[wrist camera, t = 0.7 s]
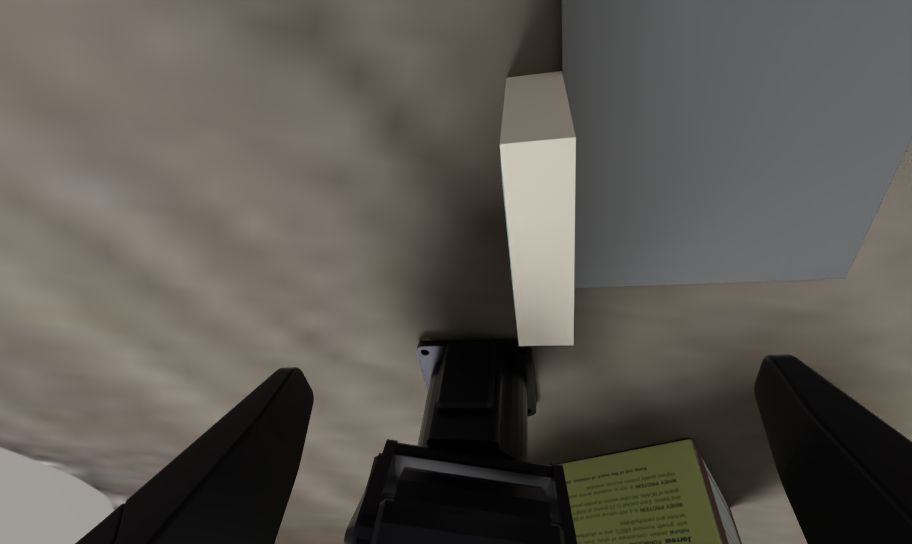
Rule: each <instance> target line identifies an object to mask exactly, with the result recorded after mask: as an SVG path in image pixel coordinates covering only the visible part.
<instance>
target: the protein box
mask: <svg viewBox="0 0 912 544" xmlns="http://www.w3.org/2000/svg"><path fill="white" fill-rule="evenodd" d="M559 465H563V469H564V474H565V480H566V485H567V490H568V496H569V501H570V507H571V512H572V517H573V523H574V528H575V533H576V539H577V544H742V543H741V540H740V537H739V534H738V531H737V528H736V525H735V522H734V519H733V516H732V513H731V510H730V507H729V505H728V504H727V502H726V500H725V498H724V497H723V495H722V493H721V491H720V489H719V487H718V485H717V483H716V482H715V480H714V478H713V476H712V474H711V473H710V471H709V469H708V467H707V465H706V463H705V461H704V459H703V458H702V456H701V454H700V452H699V451H698V449H697V447H696V445H695V443H694V442H693V440H691V439H689V440H682V441H677V442H672V443H667V444H662V445H657V446H651V447H646V448H641V449H636V450H631V451H626V452H621V453H616V454H611V455H605V456H600V457H595V458H589V459H584V460H579V461H574V462H568V463H563V464H559Z"/></svg>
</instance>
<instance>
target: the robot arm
mask: <svg viewBox="0 0 912 544" xmlns="http://www.w3.org/2000/svg"><path fill="white" fill-rule="evenodd" d="M521 348H524V349H521ZM424 349H425V350H424ZM417 356H418V359H419V363H420V366H421V369H422V373H423V376H424V379H425V383H426V386H427V390H428V395H427V400H426V405H425V410H424V415H423V421H422V426H421V431H420V436H419V441H418V446H416V445H410V444H403V443H398V441H396V440H389V439H387V441H386V444H385V447H384V450H383V453H382V454H381V453H379V456H376V457H375V458H374V462H373V465H372V469H371V473H370V477H369V480H368V483H367V486H366V489H365V492H364V494H363V496H362V498H361V500H360V502H359V505H358V507H357V509H356V511H355V513H354V515H353V517H352V519H351V521H350V523H349V525H348V527H347V530H346V533H345V538H344V544H577V539H576V533H575V528H574V523H573V517H572V512H571V507H570V501H569V496H568V490H567V485H566V480H565V474H564V469H563V465H559V464H552V463H551V465H546V464H539V463H532V462H527V416H532V415H534V414H535V413H536V397H535V383H534V368H533V354H532V346H519V343H518V340H471V341H423V342H420V343H419V344H418V346H417ZM754 393H755V398H756V402H757V405H758V408H759V412H760V415H761V418H762V422H763V425H764V428H765V432H766V435H767V438H768V441H769V445H770V448H771V451H772V455H773V458H774V461H775V465H776V468H777V471H778V474H779V477H780V480H781V482H782V485H783V487H784V490H785V492H786V495H787V497H788V499H789V502H790V504H791V506H792V508H793V511H794V513H795V515H796V518H797V520H798V522H799V525H800V527H801V529H802V532H803V534H804V536H805V538H806V541H807V543H808V544H912V442H911V441H910V440H909V439H907V438H906V437H905V436H903V435H902V434H900V433H899V432H898V431H896V430H895V429H894V428H892V427H891V426H890V425H888V424H887V423H885V422H884V421H883V420H881V419H880V418H879V417H877V416H876V415H874V414H873V413H872V412H870V411H869V410H868V409H866V408H865V407H863V406H862V405H861V404H859V403H858V402H857V401H855V400H854V399H853V398H851V397H850V396H848V395H847V394H846V393H844V392H843V391H842V390H840V389H839V388H837V387H836V386H835V385H833V384H832V383H831V382H829V381H828V380H826V379H825V378H824V377H822V376H821V375H820V374H818V373H817V372H815V371H814V370H813V369H811V368H810V367H809V366H807V365H806V364H805V363H803V362H802V361H800V360H799V359H798V358H796V357H794V356H792V355H768V356H766V357H765V358H764V359H763V361H762V363H761V366H760V370H759V373H758V376H757V379H756V382H755V386H754ZM313 400H314V397H313V392H312V389H311V387H310V386H309V384H308V382H307V380H306V378H305V376H304V374H303V372H302V371H301V370H300V369H299V368H296V367H293V368H280V369H278V370H277V371H276V372H274V373H273V374H272V375H271V376H270V377H269V378H267V379H266V380H265V381H264V382H263V383H262V384H261V385H259V386H258V387H257V388H256V389H255V390H254V391H252V392H251V393H250V394H249V395H248V396H247V397H245V398H244V399H243V400H242V401H241V402H240V403H239V404H237V405H236V406H235V407H234V408H233V409H232V410H230V411H229V412H228V413H227V414H226V415H225V416H224V417H222V418H221V419H220V420H219V421H218V422H217V423H215V424H214V425H213V426H212V427H211V428H210V429H208V430H207V431H206V432H205V433H204V434H203V435H202V436H200V437H199V438H198V439H197V440H196V441H195V442H193V443H192V444H191V445H190V446H189V447H188V448H186V449H185V450H184V451H183V452H182V453H181V454H180V455H178V456H177V457H176V458H175V459H174V460H173V461H171V462H170V463H169V464H168V465H167V466H166V467H164V468H163V469H162V470H161V471H160V472H159V473H158V474H156V475H155V476H154V477H153V478H152V479H151V480H149V481H148V482H147V483H146V484H145V485H144V486H142V487H141V488H140V489H139V490H138V491H137V492H135V493H134V494H133V495H132V496H131V497H130V498H129V499H127V500H126V503H125V504H121V505H120V506H119V507H118V508H117V509H116V510H115V511H113V512H112V513H111V514H110V515H109V516H108V517H106V518H105V519H104V520H103V521H102V522H101V523H99V524H98V525H97V526H96V527H95V528H93V529H92V530H91V531H90V532H89V533H88V534H86V535H85V536H84V537H83V538H81V539H80V540H79V541H78V542H77V543H75V544H274V543H275V540H276V537H277V534H278V531H279V528H280V525H281V522H282V518H283V515H284V512H285V509H286V506H287V503H288V500H289V497H290V494H291V491H292V488H293V485H294V482H295V479H296V476H297V472H298V469H299V465H300V461H301V457H302V452H303V447H304V443H305V438H306V434H307V429H308V425H309V420H310V415H311V411H312V406H313Z"/></svg>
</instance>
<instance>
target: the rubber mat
mask: <svg viewBox="0 0 912 544" xmlns="http://www.w3.org/2000/svg"><path fill="white" fill-rule="evenodd" d="M562 74H563V79H564V84H565V88H566V93H567V98H568V102H569V107H570V112H571V117H572V121H573V126H574V131H575V136H576V168H575V260H574V288H598V287H626V286H654V285H682V284H711V283H739V282H767V281H795V280H823V279H845V278H846V276H847V274H848V272H849V270H850V268H851V265H852V263H853V261H854V259H855V257H856V255H857V253H858V251H859V249H860V246H861V244H862V242H863V240H864V238H865V236H866V234H867V232H868V230H869V227H870V225H871V223H872V221H873V219H874V217H875V215H876V213H877V211H878V208H879V206H880V204H881V202H882V200H883V198H884V196H885V194H886V192H887V189H888V187H889V185H890V183H891V181H892V179H893V177H894V175H895V173H896V170H897V168H898V166H899V164H900V162H901V160H902V158H903V156H904V154H905V151H906V149H907V147H908V145H909V143H910V141H911V139H912V0H562Z"/></svg>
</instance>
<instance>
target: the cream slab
mask: <svg viewBox="0 0 912 544" xmlns="http://www.w3.org/2000/svg"><path fill="white" fill-rule="evenodd" d="M500 153H501V174H502V184H503V195H504V205H505V215H506V226H507V236H508V247H509V257H510V267H511V278H512V288H513V299H514V309H515V312H516V322H517V333H518V343H519V346H559V345H574V260H575V168H576V136H575V131H574V126H573V121H572V117H571V112H570V107H569V102H568V98H567V93H566V88H565V84H564V79H563V74H562V71H558V72H550V73H541V74H533V75H524V76H516V77H508V78H506V86H505V96H504V106H503V116H502V126H501V136H500Z"/></svg>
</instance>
